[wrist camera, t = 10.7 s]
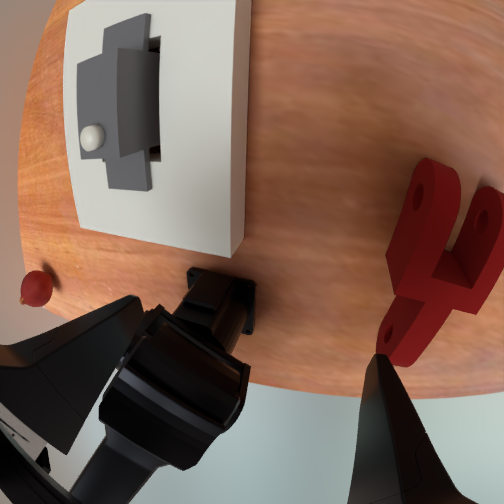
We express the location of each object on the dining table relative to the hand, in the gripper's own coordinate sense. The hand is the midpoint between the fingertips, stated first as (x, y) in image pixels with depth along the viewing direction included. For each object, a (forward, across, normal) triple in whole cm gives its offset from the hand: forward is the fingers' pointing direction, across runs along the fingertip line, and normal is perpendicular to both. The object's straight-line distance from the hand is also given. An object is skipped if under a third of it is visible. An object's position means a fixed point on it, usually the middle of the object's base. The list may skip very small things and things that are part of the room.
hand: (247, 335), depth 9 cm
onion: (+12, +38, +16) cm, 43 cm away
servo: (+12, +12, -8) cm, 19 cm away
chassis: (+12, +12, -8) cm, 19 cm away
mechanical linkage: (+12, -11, +3) cm, 17 cm away
